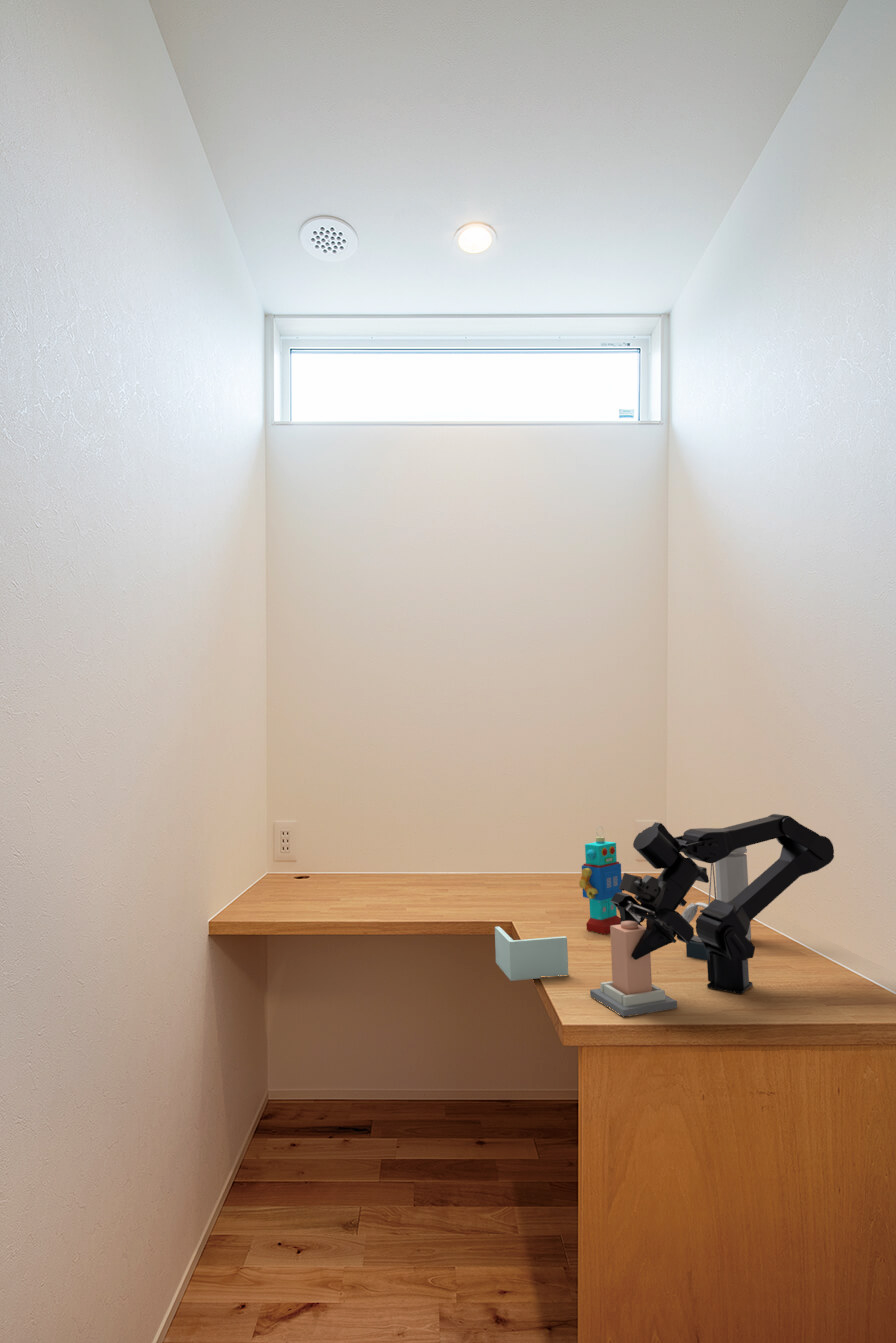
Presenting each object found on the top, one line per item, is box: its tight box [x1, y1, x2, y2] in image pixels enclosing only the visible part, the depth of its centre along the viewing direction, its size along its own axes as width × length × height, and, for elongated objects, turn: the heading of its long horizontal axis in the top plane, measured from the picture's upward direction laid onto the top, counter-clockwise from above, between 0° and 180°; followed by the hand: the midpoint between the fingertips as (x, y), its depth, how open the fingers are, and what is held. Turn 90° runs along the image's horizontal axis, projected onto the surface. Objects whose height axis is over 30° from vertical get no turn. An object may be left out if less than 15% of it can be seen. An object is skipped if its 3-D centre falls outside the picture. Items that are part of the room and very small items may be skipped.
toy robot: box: [578, 825, 623, 935], centre depth 186 cm, size 12×6×25 cm, turn 131°
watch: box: [680, 901, 711, 961], centre depth 162 cm, size 6×8×11 cm
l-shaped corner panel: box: [494, 926, 569, 982], centre depth 156 cm, size 12×12×8 cm
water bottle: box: [707, 846, 752, 942], centre depth 174 cm, size 9×8×25 cm
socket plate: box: [589, 980, 678, 1017], centre depth 136 cm, size 11×11×3 cm
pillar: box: [609, 921, 653, 995], centre depth 136 cm, size 5×5×13 cm
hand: (624, 953), depth 136 cm, fingers open, 6 cm apart
